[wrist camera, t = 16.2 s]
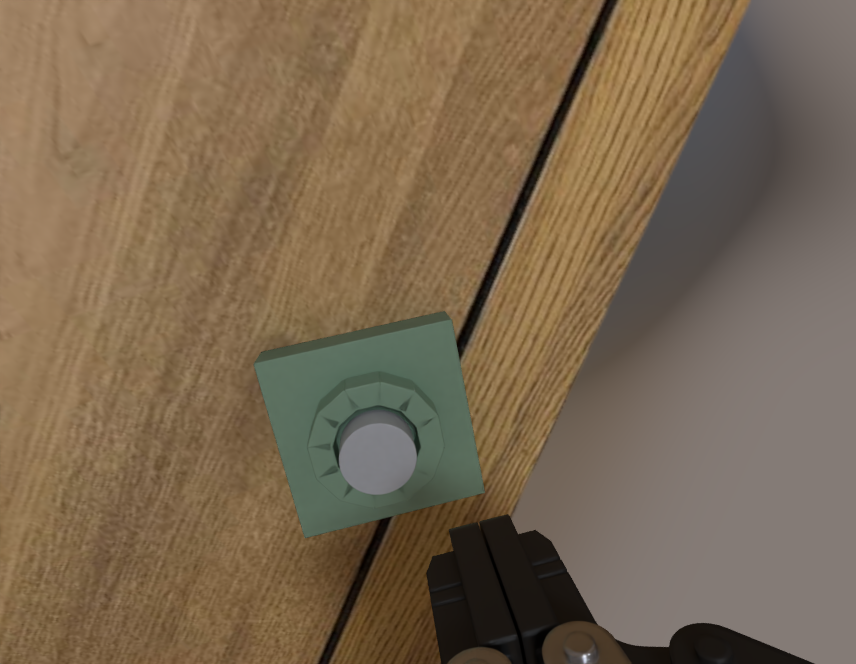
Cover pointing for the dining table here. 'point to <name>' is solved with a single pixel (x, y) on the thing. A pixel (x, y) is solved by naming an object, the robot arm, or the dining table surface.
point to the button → (377, 452)
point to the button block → (364, 391)
